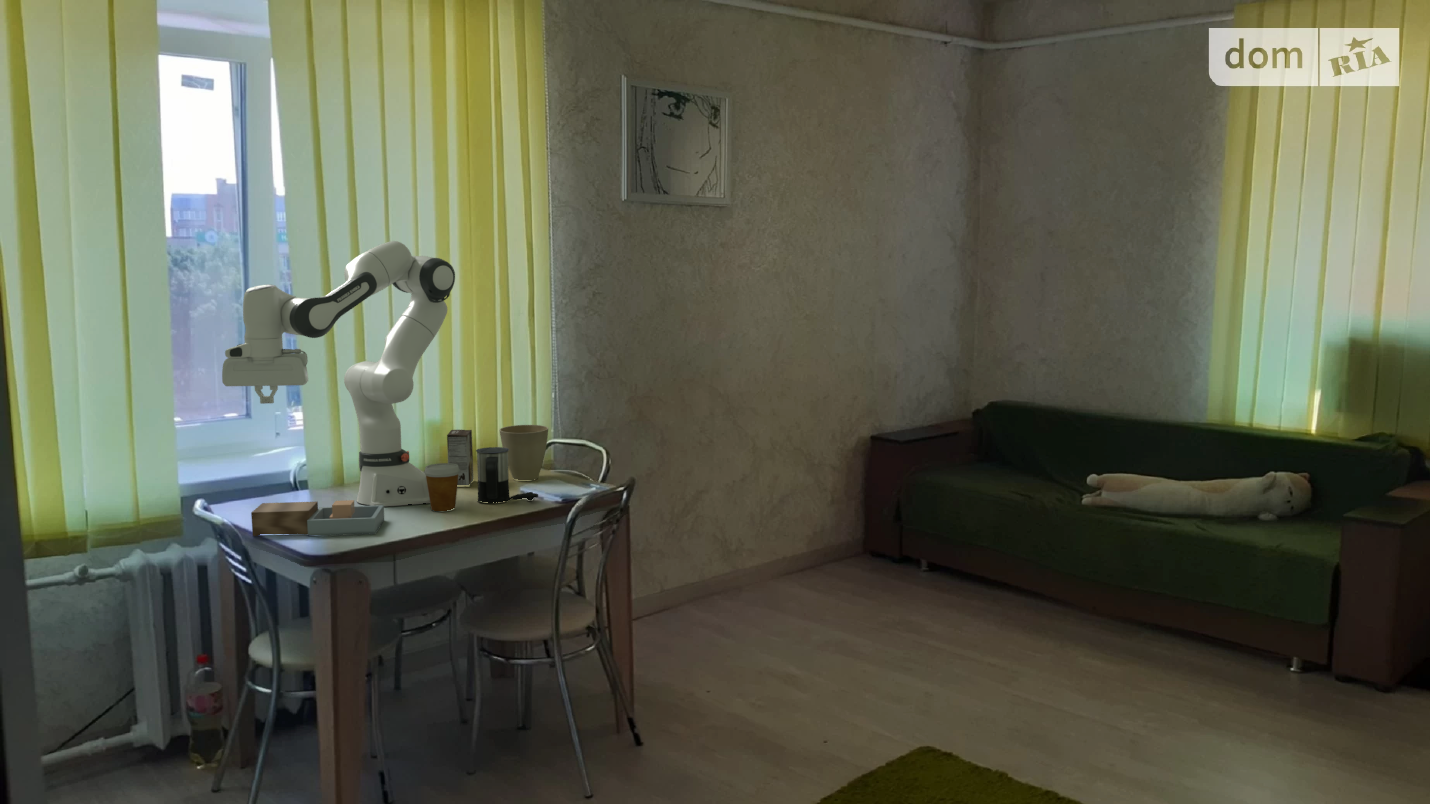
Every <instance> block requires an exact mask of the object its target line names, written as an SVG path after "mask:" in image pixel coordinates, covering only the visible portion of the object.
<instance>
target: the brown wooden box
mask: <svg viewBox="0 0 1430 804" xmlns="http://www.w3.org/2000/svg"><path fill="white" fill-rule="evenodd" d="M318 509H319V502H318V500H317V501H294V502H291V501H290V502H262V503H261V504H259V505H258V506H257V507H256V508H255V509H253V510H252V511H251V513H250V514H251V528H252V529H251V531H252V537H259V536H258V535H260V534H304V535H308V526H307V520H308V519H309V518H310V517H311V516H312V515H313V514H314V513H315V512H316V511H317V510H318Z"/></svg>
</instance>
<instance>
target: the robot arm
mask: <svg viewBox="0 0 1430 804" xmlns="http://www.w3.org/2000/svg"><path fill="white" fill-rule="evenodd" d="M343 273H344V274H343V275H344V280H345V282H343V283H342V284H341V285H339V286H338V287H337V288H335V289H334V290H332V291H330V292H328V294H326V295H323V296H319V297H298V296H295V295H292V294H289V293H288V292H286V291H283V290H282V289H280V288H278V286H277V285H275V284H261V285H260V284H259V285H256V286H251V287H249V288H247V290H245V292H244V294H243V302H242V304H243V305H242V319H243V323H244V326H245V331H244V332H245V333H244V337H243V338H244V343H239V344H237V345H236V346H232V347H229V348H227V349H226V350H224V351H225V352H224V355H225V357H226V359H225V360H224V361H223V364H222V370H221V371H222V372H221V379H222V384H223V385H224V386H225V387H254V392H255V393H256V394H257V396H258V397H259V403H260V404H265V405H266V404H274V403H275V399H274V398H275V395H276V393H277V391H278V389H279V386H304V385H306V384H307V383H308V382H309V373H308V368H307V364H308V362H309V361H308V354H307V352H305V351H304V350H302V349H300V348H294V349H291V348H284V347H283V346H284V344H283V334H284V333H286V334H289V335H296V336H303V337H307V338H309V339H311V338H312V339H317V338H321V337H323V336H325V335H327V334H328V333H329V332H330V331H331V330H332V328H333V327H334V325H335V324H336V323H337V321H338V320H339V319H340V318H341V317H343V315H345V314H347V312H349V311H351V310H352V309H353V308H355V307H356V306H357V307H358V305H359V304H361V303H362V302H364V301H365V300H366V299H368V298H369V297H371V296H373V295H375V294H378V293H379V292H381V291H383V290H384V289H386V288H388V287H389V286H392V285H393V287H395V289H397V290H399V292H400V291H401V292H402V293H406V294H408V293H409V294H411V295H410V300H409V302H408V305H407V307H406V308H405V310H403V312H402V313H401V314H400V316H399V317H398V319H397V320H396V322H395V323H394V324H393V326H392V327H391V329H390V330H389V332H388V333H387V334H386V336H385V338H384V349H383V351H382V354H381V356H380V358H379V359H378V361H372V360H371V361H370V360H365V361H360V362H357V363H354V364H352V365H351V366H349V367H348V368H347V370H346V372H345V373H344V379H343V380H344V386H345V388H346V390H347V391H348V393H349V394H350V396H351V399H352V403H353V407H354V410H355V414H356V417H357V422H358V428H359V432H358V433H359V444H360V445H359V446H360V450H359V452H358V469H359V472H360V477H359V480H360V481H359V488H358V493H357V497H356V498H357V499H356V502H357V503H358V504H362V505H365V506H376V505H384V508H385V507H396V506H399V507H400V506H409V505H408V504H412V505H423V503H426V504H430V498H429V492H428V486H427V480H426V475H425V473H424V471H422V470H421V469H420V468H418V467H416V466H415V465H414V464H413V463H411V462H410V451H409V450H404V449H403V448H402V431H401V428H402V427H401V425H402V424H401V421H400V419H399V417H398V416H397V415H396V413H395V410H394V407H393V404H398V403H402V402H404V401H406V400H408V399H409V397H411V395H412V393H413V390H414V379H413V377H414V374H415V371H416V368H417V366H418V363H419V361H420V359H421V358H422V356H423V355H424V354H425V352H426V350H427V349H428V347H429V346H430V344H431V343H432V342H433V340H434V338H435V337H436V335H437V334H438V332H439V331H440V329H441V327H442V325H443V324H444V321H445V318H446V317H447V314H448V306H447V304H446V302H445V301H446V300H447V299H448V298H449V297H450V296H451V294H450V293H451V291H452V290H453V288H454V287H455V286H454V285H455V281H456V272H455V270H454V267H453V266H452V264H450V263H449V262H448V261H446V260H444V259H442V258H439V257H432V256H428V255H412V254H411V251H410V249H409V248H408V247H407V246H406V245H405V244H404V243H402V242H401V241H397V240H392V241H391V240H390V241H387V242H384V243H381V244H378V245H376V246H373V247H371V248H370V249H368V250H366V251H364V252H362V253H360V254H359V255H357V256H356V257H354V258H352V260H350V261H349V262H348V263H347V264H346V265H345V267H344V272H343ZM263 387H269V391H271V392H270V395H265V394H264V393H263Z"/></svg>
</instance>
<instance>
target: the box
mask: <svg viewBox="0 0 1430 804" xmlns="http://www.w3.org/2000/svg"><path fill="white" fill-rule="evenodd" d="M354 507H355V512H354V513H353V515H352V518H340V519H330V518H329V517H330V516H331V514H332V506H322V507H321V506H320V507H318V510H317V511H316V512H315V513H314V514H313V515H312V516H311V517H310V518H309V519H308V520H307V526H308V534H307V536H308V535H333V536H344V535H343V534H361V535H376V534H377V532H378V531H379V529H380V528H381V526H382V524H383V523H384V521H385V507H384V505H376V506H371V505H354ZM379 527H380V528H379ZM375 533H376V534H375Z"/></svg>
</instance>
